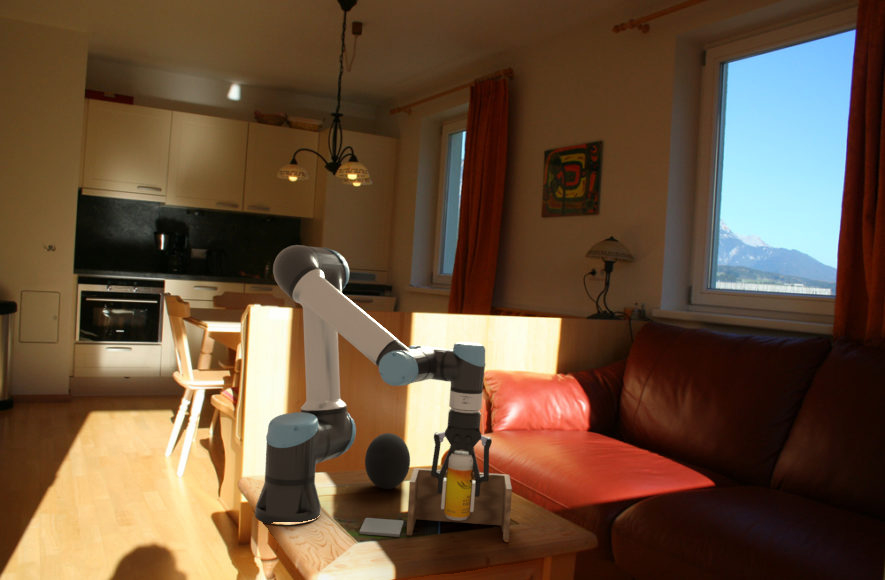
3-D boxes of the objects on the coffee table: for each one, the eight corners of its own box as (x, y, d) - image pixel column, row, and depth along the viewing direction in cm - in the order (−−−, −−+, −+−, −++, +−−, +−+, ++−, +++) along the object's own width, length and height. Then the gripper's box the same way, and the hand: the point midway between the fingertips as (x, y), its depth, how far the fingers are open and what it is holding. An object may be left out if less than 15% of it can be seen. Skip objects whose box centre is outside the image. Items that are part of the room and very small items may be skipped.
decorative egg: (373, 496, 182) (376, 440, 181) (356, 483, 193) (360, 430, 192) (415, 492, 187) (419, 437, 187) (397, 480, 198) (400, 428, 198)
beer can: (467, 522, 157) (472, 457, 156) (441, 519, 158) (446, 453, 158) (471, 514, 163) (476, 451, 162) (446, 510, 164) (451, 448, 164)
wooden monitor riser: (406, 534, 156) (409, 481, 155) (411, 517, 168) (414, 467, 167) (508, 542, 155) (511, 489, 154) (506, 524, 167) (509, 474, 166)
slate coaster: (359, 533, 155) (359, 531, 155) (365, 520, 164) (365, 517, 164) (399, 536, 154) (399, 534, 154) (403, 523, 163) (403, 520, 163)
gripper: (423, 409, 157) (415, 510, 157) (506, 416, 156) (498, 517, 156) (425, 403, 164) (417, 499, 164) (505, 410, 163) (497, 507, 164)
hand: (457, 508), depth 160 cm, fingers closed on beer can, 6 cm apart
